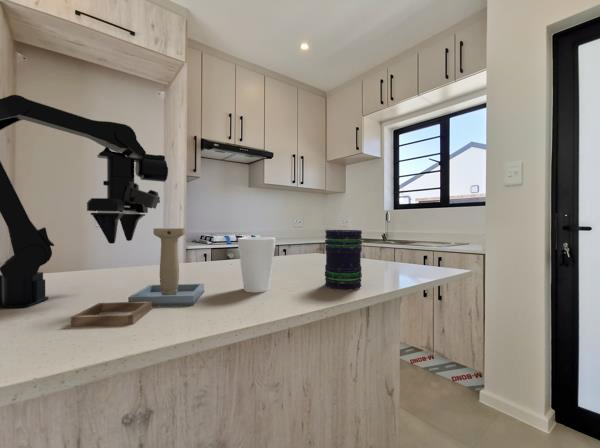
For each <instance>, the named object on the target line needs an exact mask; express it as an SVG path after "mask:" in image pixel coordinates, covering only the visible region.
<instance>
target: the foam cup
mask: <svg viewBox="0 0 600 448" xmlns="http://www.w3.org/2000/svg"><path fill="white" fill-rule="evenodd" d="M276 239H277V238H276V237H269V236H265V237H264V236H246V237H238V238H237V248H238V251H239V252H238V253H239V260H240V261H239V262H240V269H241V276H242V283H243V285H242V286H243V290H244V292H247V293H264V292H265V293H266V292H268V291H270V287H271V286H270V285H271V278H272V271H273V264H274V255H275V248H276Z"/></svg>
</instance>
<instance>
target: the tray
mask: <svg viewBox="0 0 600 448" xmlns="http://www.w3.org/2000/svg"><path fill="white" fill-rule="evenodd" d="M161 292H162V289H161V286H160V284H148V285H147V286H145V287H143V288H141V289H140V290H138V291H137V292H134V293H133V294H132V295H129V296H128V298H127V302H152V307H178V306H180V307H181V306H182V307H183V306H184V307H186V306H194V305H195V304H196V303H197V301H199V299H200V298H201V296H202V295H203V294H204V293H205V283H178V288H177V295H162V293H161Z"/></svg>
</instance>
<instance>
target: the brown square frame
mask: <svg viewBox="0 0 600 448" xmlns="http://www.w3.org/2000/svg"><path fill="white" fill-rule="evenodd" d="M152 309H153V306H152V302H128V301H123V302H120V301H119V302H117V301H116V302H98V303H96V304H94V305H92V306H90V307H88V308H86V309H85V310H83V311H81V312H79V313H76V314H75V315H73V316H71V317H70V327H89V326H90V327H93V326H96V327H97V326H116V325H117V326H119V325H121V326H122V325H125V326H126V325H134V324H136V323H137V322H138V321H139V320H140V319H142V318H143V317H144V316H145V315H146V314H147V313H149V312H150V311H152ZM102 312H103V313H106V312H107V313H109V312H131V313H127V314H126V313H122V314H119V313H118V314H100V313H102Z"/></svg>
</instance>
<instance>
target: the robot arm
mask: <svg viewBox="0 0 600 448" xmlns="http://www.w3.org/2000/svg"><path fill="white" fill-rule="evenodd" d="M21 121H27V122H30V123H34V124H38V125H41V126H45V127H49V128H51V129H55V130H59V131H61V132H66V133H69V134H73V135H75V136H80V137H83V138H87V139H89V140H91V141H93V142H95V143H96V144H98V145H100V146H103V147H104V149H103V150H102V151H101V152H99V153H98V154H96V156H97V158H99V159H106V164H107V165H106V173H107V174H106V178H107V179H106V180H102V181H103V184H102V185H103V186H104V187H105V186H106V187H107V188H106V191H107V192H106V195H107V196H106V197H105V198H103V197H101V198H100V197H97V198H96V197H91V198H90V199H89V200H88V201H87V202H86V211H87V212H90V215H91V216H92V217H93V218H94V220H95V222H96V223H97V224H98V226H99V228H100V229H101V231H102V233H103V235H104V237H105V239H106V240H107V242H108V243H109V244H115V242H116V239H117V233H118V232H117V231H118V225H119V222H120V225H121V228H122V232H123V234H124V238H125V239H126V241H127V242H131V241H132V240H133V238H134V235H135V232H136V228H137V225H138V223H139V221H140V219H142V218H143V217H145V216H146V214H148V213H149V212H148V211H149V209H156V208H157V205H158V204H160V202H161V200H160V199H161V197H160V196H159V192H158V191H155V190H152V189H150V190H148V191H147V192H146V191H144V190H141V189H139V188H140V187H139V186H140V185H139V184H138V183H136V182H135V176H137V177H139V178H140V180H142V181H149V182H151V181H152V182H162V183H165V182H166V181H167V179H168V176H169V175H168V174H169V167H168V164H167V161H166V156H165V155H162V154H161V155H160V154H148V153H147V151H146V150H145V149H144V148H143V146H142V145H141V144H140V142H139V141H138V139H137V135H136V133H135V131H134V129H133V128H132V127H131V126H130V125H128V124H126V123H125V124H124V123H121V122H113V121H107V120H106V121H105V120H95V119H90V118H88V117H85V116H82V115H77V114H74V113H71V112H68V111H65V110H61V109H59V108H56V107H52V106H50V105H46V104H43V103H41V102H37V101H34V100H31V99H28V98H26V97H24V96H22V95H19V94H10V95H9V96H6V97H5V96H4V97H2V98H0V131H3V129H6V128H8V127H10V126H12V125H14V124H16V123H18V122H21ZM7 173H8V172H7V171H6V169H5V167H4V165H3V163H2V161H1V160H0V215H1V216H2V219H3V220H4V222H5V225H6V226H7V230H8V233H9V235H8V236H9V238H10V244H11V248H12V252H13V255H12V256H10V258H8V259H7V260H6V261H5V262H3V263H2V265H0V309H1V308H6V309H7V308H27V307H30V306H33V305H36V304H39V303H40V302H44V301H46V300H48V299H49V296H46V280H45V278H44V272H43V271H41V272H40V271H39V270H40V267H42V266H43V265H45V264H47V263H48V262H49V261H50V259H52V258H51V257H52V255H53V249H52V247H54V246H55V244H54V242H52V240H50V238H49V237H48V233H47V228H46V227H45V226H43V227H41V228H39V229H38V228H37V227H36V226H35V225H34V223H33V222H32V221H31V219H30V216H29V215H28V213H27V211H26V209H25V207H24V205H23V203H22V201H21V200H20V199H21V198H20V197H19V195H18V194H17V191H16V189H15V187H14V185H13V183H12V180H11V179H10V177H9V174H7ZM148 208H149V209H148ZM156 210H157V209H156Z"/></svg>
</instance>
